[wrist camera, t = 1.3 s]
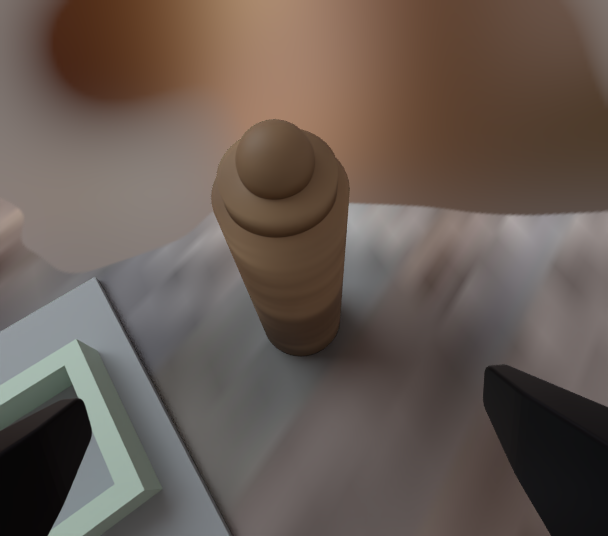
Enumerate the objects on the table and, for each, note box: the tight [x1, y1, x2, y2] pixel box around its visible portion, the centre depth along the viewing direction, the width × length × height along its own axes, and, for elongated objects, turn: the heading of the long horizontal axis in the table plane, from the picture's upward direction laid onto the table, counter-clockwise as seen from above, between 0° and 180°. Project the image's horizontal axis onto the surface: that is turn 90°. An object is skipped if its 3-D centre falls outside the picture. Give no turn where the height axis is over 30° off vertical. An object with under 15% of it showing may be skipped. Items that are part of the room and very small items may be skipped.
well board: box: [0, 277, 232, 536], centre depth 19 cm, size 18×12×3 cm, turn 36°
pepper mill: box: [211, 119, 350, 356], centre depth 17 cm, size 5×5×14 cm
